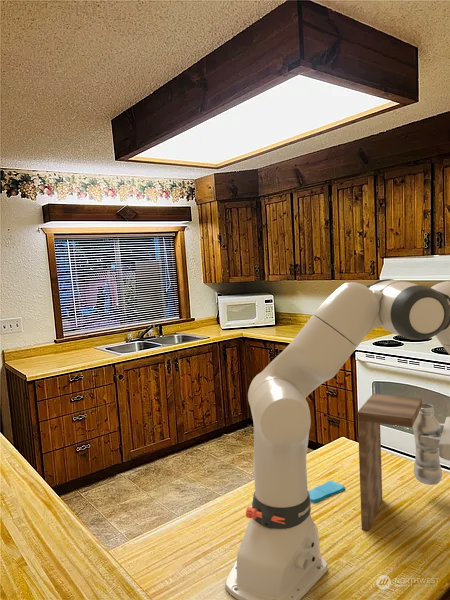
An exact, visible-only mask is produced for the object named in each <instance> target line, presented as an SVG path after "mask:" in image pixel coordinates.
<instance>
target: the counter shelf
mask: <svg viewBox="0 0 450 600" xmlns="http://www.w3.org/2000/svg"><path fill="white" fill-rule="evenodd" d="M422 404H423V397H422V398H421V397H411V396H403V395H402V396H401V395H392V394H384V393H383V394H381V393H372V394H371V396H370V397H369V398H368V399H367V400H366V401H365V403H364V404H363V405H362V406H361V407H360V408H359V409H358V411H357V428H358V429H357V433H358V434H357V435H358V436H357V437H358V460H359V462H358V463H359V464H358V465H359V486H360V489H359V493H360V517H361V519H360V520H361V522H360V523H361V530H363V531H367V532H369V530H370V528H371V526H372V523H373V521H374V520H375V517H376V515H377V512H378V510H379V508H380V506H381V504H382V501H383V477H382V476H383V475H382V443H381V440H382V439H381V437H382V436H381V425H382V424H383V425H388V426H389V425H390V426H399V427H406V428H413V424H414V422H415V420H416V418H417V416H418V415H419V412H420V410H421V407H422Z"/></svg>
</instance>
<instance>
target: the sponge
mask: <svg viewBox="0 0 450 600" xmlns="http://www.w3.org/2000/svg"><path fill="white" fill-rule="evenodd" d="M343 491H346V486H344V485H342V484H341V483H339V482H336V481H334V480H328V481H326V482H324V483H322V484H321V485H320V484H319V486H316V487H314V488H312V489H311V490H308V492H309V494H310V499H311V504H317V503H319V502H322V501H324V500H325V499H328V498H330V497H332V496H334V495H338V494H339V493H341V492H343Z"/></svg>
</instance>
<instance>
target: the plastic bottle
mask: <svg viewBox="0 0 450 600" xmlns="http://www.w3.org/2000/svg"><path fill="white" fill-rule="evenodd" d="M434 415H435V410H434V405H433V404H431V403H422V407H421V410H420V412H419V414H418V416H417V418H416V420H415V422H414V424H413V427H412V431H413V436H414V437H413V438H414V443H415V458H414V460H415V461H414V467H413V473H414V478H416V481H418V482H420V483H422V484H423V485H432V486H433V485H434V486H435V485H438V484H439V483H440V482H441V481H442V478H443V469H442V466H441V460H440V456H439V448H436V447H433V446H431V445H429V444H424V443H421V442H420V436H421V435H422V434H424V435H429V436H430V437H434V438H436V437H440V438H441V433H440V431H441V427H440V424H439V423H440V422H439V421H438V419H437V418H436V416H434Z"/></svg>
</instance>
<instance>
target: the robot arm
mask: <svg viewBox="0 0 450 600" xmlns="http://www.w3.org/2000/svg"><path fill="white" fill-rule="evenodd" d="M379 327H381V328H383V330H385V331H387V332H389V333H392V334H394V335H396V336H397V335H398V336H401V337H403V338H406V339H409V340H415V341H418V340H421V341H422V340H427V339H430V338H433V337H434V336H435V337H436V339H437V340H438V341H439V343H440V344H441V346H442V347H443V349H444V350H445V351H446V352H447V353H448V355H450V280H446V281H442V282H438V283H436V284H434V285H432V286H431V287H429V286H426V285H419V284H417V283H414V282H411V281H408V280H404V279H403V280H402V279H391V278H386V279H385V278H383V279H379V280H377V281H375V282H373V283H371V284H369V285H367V286H366V285H365V284H362V283H360V282H354V281H350V282H345V283H343V284H342V285H340V286H339V287H338V288H336V290H334V291H333V293H330V295H329V296H328V297H327V298H326V299H325V300H324V301H323V302H322V303H321V304H320V305H319V307H318V308H317V309H316V311H314V313H313V314H312V315H311V316H310V318H309V319H308V320H307V322H305V324H304V325H303V326H302V328H301V329H300V330H299V332H298V333H297V334H296V336H295V337H294V338H293V339H292V341H290V343H289V344H288V345H287V346H286V347H285V348H284V349H283V350H282V351H281V352H280V353H279V354H278V355H277V356H276V357H275V358H274V359H272V361H270V363H268V365H266V366H265V368H264V369H263V370H262V371H260V372H259V373H258V374H256V376H255V377H253V379H252V380H251V383H250V385H249V388H248V392H247V400H248V404H249V406H250V407H249V408H250V412H251V416H252V421H253V424H252V425H253V456H252V457H253V459H252V460H253V461H252V462H253V476H254V477H253V478H254V480H253V481H254V491H253V494H252V495H253V497H252V501H251V506H248V507H247V508H246V509H245V510H246V511H245V517H246V518H249V521H248V525H247V526H246V529H245V531H244V532H245V533H244V534H243V537H242V540H241V542H240V546H239V549H238V551H237V555H236V560H235V561H234V563H233V566H232V567H231V570H230V572H229V573H228V576H227V578H226V580H225V582H224V583H225V584H224V588H225V589H226V591H227V592H228V593H229V594H230V595H231V596H232V597H234V598H235V599H237V600H302V599H303V598H304V596H305V595H306V594H307V593H308V592H309V590H311V589H312V587H314V585H315V584H317V582H318V581H319V580H320V579H321V578H323V575H325V574H326V572H328V570H329V568H328V562H327V561H326V560H325V559H324V558H323V557H322V553H321V546H320V538H319V528H318V526H317V524H316V523H315V522H314V519H313V518H312V515H311V511H312V508H311V507H312V502H311V499H310V494H309V492H308V491H309V490H308V474H307V473H308V471H307V469H308V468H307V454H308V453H307V452H308V445H309V436H310V430H311V425H312V419H311V417H312V416H311V411H310V406H309V403H308V401H307V399H306V398H307V397H308V396H309V395H310V394H312V393H313V391H315V390H316V389H317V388H318V387H319V386H321V385H322V384H324V383H326V382H327V381H329V380H331V379H333V378H334V377H336V375H337V373H338V372H339V371H340V370H341V369H342V367H344V364H345V363H346V362H347V361H348V359H349V358H350V357H351V355H352V354H353V353H354V352H355V351H356V349H357V348H358V346H360V344H361V343H362V341H363V340H364V338H365V337H366V336H367V335H368V334H369V333H370V332H372V331H374V329H376V328H379ZM439 424H440V427H441V431H440V437H436V438H434V437H430V436H429V435H424V434H422V435H421V436H420V442H421V443H424V444H429V445H431V446H433V447H436V448H439V458H440V459H443V460H445V461H450V416H446V418H445V421H444V423H440V422H439Z"/></svg>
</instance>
